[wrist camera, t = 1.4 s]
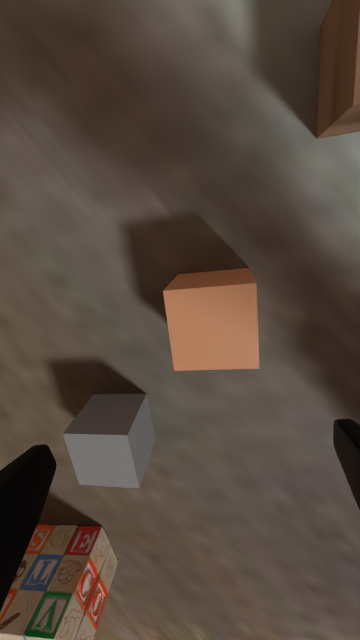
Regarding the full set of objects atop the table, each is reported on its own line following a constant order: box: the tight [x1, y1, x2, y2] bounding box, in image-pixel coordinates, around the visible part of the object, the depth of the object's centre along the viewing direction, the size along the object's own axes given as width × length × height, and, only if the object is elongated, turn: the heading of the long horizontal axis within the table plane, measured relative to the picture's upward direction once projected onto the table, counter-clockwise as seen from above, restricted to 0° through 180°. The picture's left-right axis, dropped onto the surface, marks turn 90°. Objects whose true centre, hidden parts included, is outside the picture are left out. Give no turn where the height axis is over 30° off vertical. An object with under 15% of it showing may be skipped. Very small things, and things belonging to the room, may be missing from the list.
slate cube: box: [63, 394, 155, 488], centre depth 23 cm, size 5×5×5 cm
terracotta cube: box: [163, 268, 259, 371], centre depth 18 cm, size 5×5×5 cm
